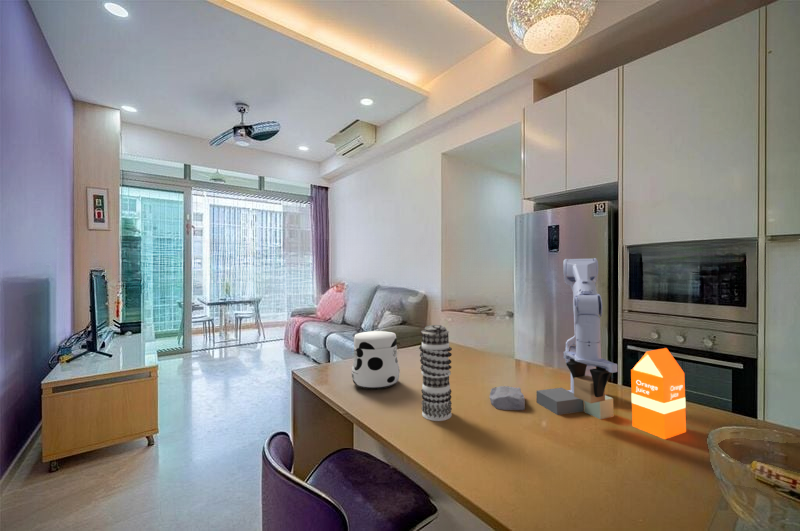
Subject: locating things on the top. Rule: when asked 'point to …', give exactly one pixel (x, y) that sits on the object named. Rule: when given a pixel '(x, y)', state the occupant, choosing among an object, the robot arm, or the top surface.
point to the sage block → (600, 408)
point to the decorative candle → (435, 373)
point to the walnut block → (586, 389)
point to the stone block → (507, 398)
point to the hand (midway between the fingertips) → (589, 392)
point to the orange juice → (658, 395)
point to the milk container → (375, 360)
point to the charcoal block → (559, 401)
